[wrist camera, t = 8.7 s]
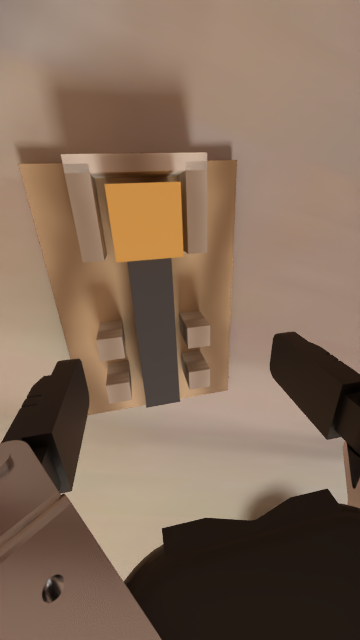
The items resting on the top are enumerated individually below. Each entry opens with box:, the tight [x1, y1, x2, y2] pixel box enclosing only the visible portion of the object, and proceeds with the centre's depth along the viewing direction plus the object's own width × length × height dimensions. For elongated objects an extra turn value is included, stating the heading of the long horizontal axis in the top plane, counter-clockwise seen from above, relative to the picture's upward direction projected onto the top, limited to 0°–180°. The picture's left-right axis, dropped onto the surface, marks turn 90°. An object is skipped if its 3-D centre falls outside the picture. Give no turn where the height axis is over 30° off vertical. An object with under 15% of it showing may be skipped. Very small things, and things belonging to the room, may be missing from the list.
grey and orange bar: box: [104, 182, 184, 407], centre depth 21 cm, size 18×5×5 cm, turn 3°
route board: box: [19, 152, 237, 415], centre depth 22 cm, size 16×23×4 cm
